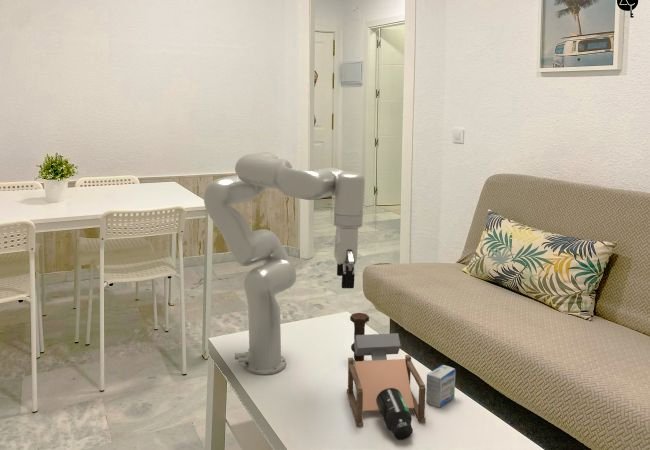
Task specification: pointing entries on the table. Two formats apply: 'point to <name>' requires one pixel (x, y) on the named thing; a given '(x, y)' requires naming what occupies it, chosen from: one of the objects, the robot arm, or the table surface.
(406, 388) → the trapdoor
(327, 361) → the table surface
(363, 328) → the bolt
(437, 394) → the medicine box
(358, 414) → the small wooden stool
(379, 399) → the supplement bottle
